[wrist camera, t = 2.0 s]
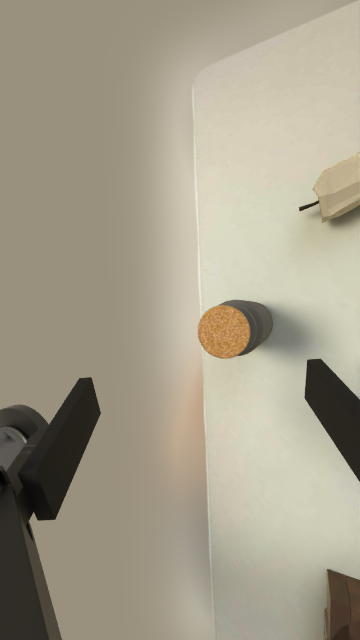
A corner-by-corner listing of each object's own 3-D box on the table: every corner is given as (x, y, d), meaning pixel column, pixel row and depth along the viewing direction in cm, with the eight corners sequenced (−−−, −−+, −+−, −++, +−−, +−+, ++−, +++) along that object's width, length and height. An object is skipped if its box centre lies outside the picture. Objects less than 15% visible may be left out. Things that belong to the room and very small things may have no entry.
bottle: (278, 338, 36) (265, 357, 22) (236, 348, 38) (201, 370, 24) (266, 296, 36) (245, 289, 23) (225, 308, 39) (184, 309, 25)
